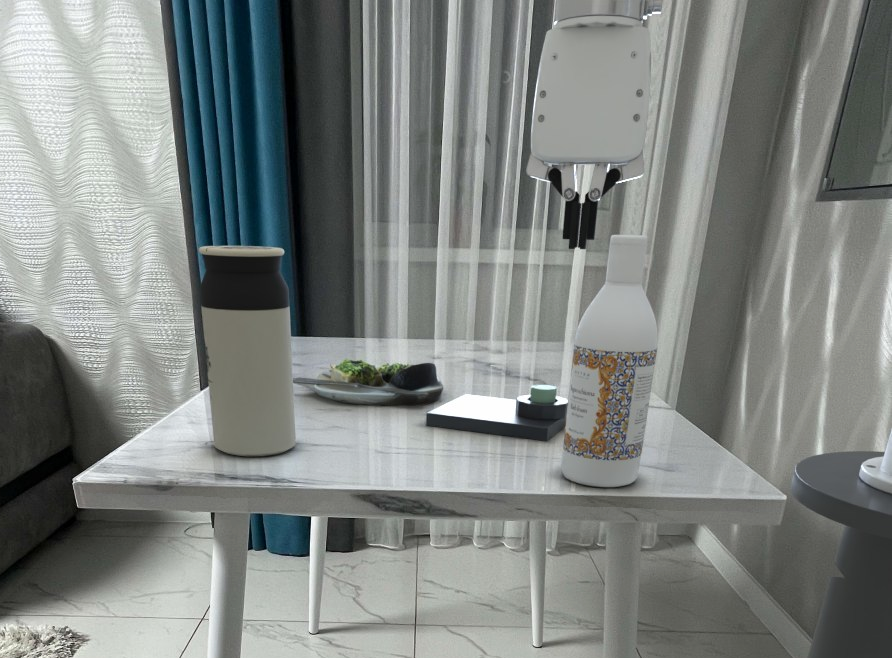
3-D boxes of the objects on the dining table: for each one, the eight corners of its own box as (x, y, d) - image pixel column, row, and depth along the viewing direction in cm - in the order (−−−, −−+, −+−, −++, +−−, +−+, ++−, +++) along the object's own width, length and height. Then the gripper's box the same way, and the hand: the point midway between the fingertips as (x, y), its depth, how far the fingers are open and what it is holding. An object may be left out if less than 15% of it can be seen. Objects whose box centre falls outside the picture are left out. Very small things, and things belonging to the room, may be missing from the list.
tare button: (558, 402, 91) (559, 386, 90) (551, 406, 89) (552, 390, 88) (534, 399, 92) (535, 383, 91) (526, 404, 90) (528, 387, 89)
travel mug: (306, 439, 84) (298, 247, 75) (281, 460, 77) (269, 251, 68) (232, 434, 85) (216, 244, 76) (201, 454, 78) (180, 247, 69)
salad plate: (286, 408, 96) (284, 368, 94) (297, 379, 112) (295, 344, 110) (448, 410, 98) (449, 370, 96) (436, 381, 114) (437, 347, 112)
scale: (578, 419, 95) (581, 393, 94) (549, 441, 85) (552, 413, 84) (465, 405, 100) (466, 380, 99) (425, 425, 91) (426, 398, 89)
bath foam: (544, 472, 75) (568, 233, 66) (602, 463, 78) (631, 234, 69) (593, 493, 70) (626, 236, 61) (653, 482, 73) (692, 237, 64)
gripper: (686, 19, 71) (656, 249, 79) (517, 24, 74) (504, 245, 82) (693, -2, 65) (659, 252, 73) (506, 5, 67) (494, 248, 76)
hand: (577, 248), depth 78 cm, fingers closed
